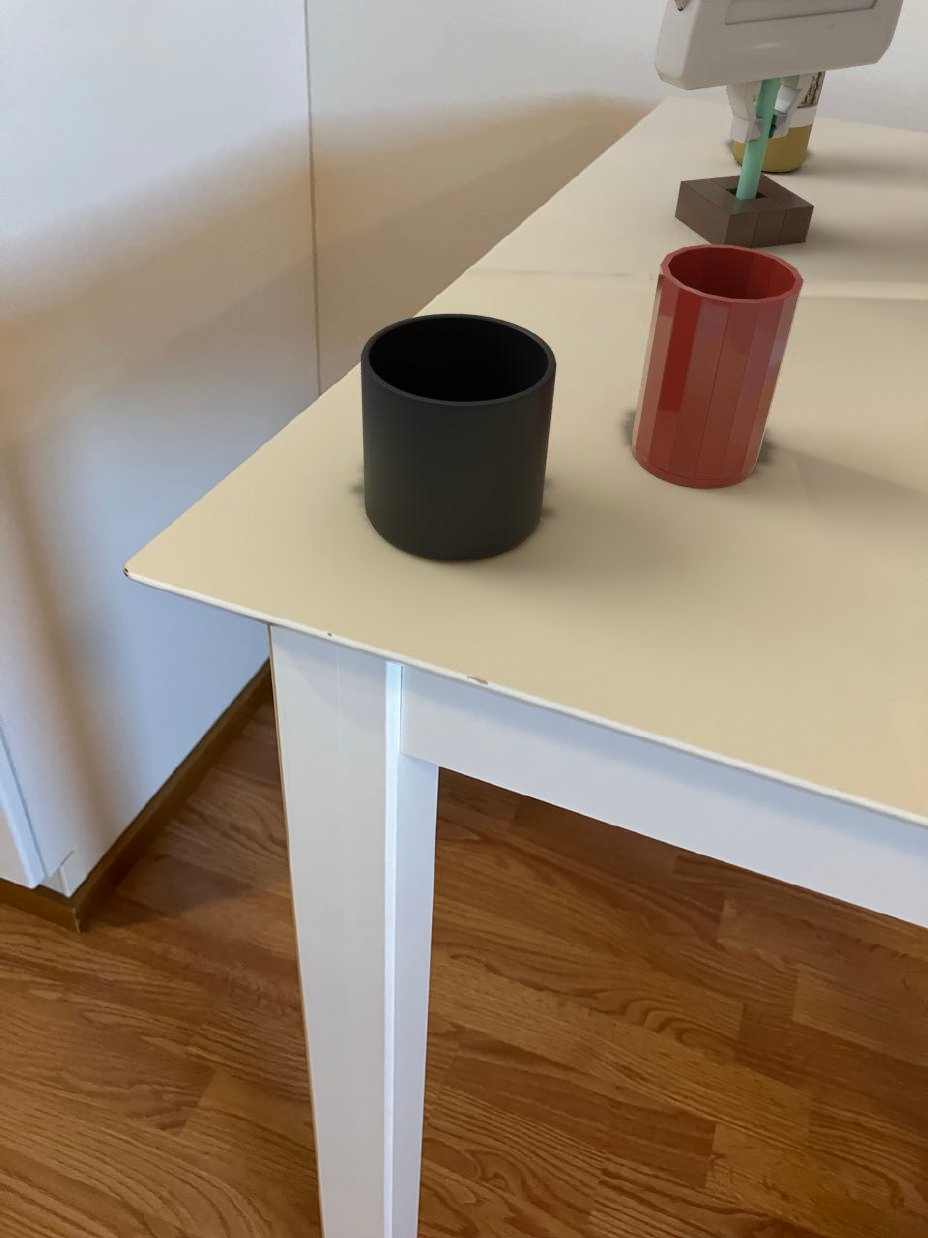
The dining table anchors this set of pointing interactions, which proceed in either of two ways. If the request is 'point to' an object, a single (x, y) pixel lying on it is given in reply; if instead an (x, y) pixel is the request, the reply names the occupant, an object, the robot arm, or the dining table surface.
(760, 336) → the cup
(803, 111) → the paper tube
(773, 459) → the dining table surface
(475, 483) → the mug
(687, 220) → the holder
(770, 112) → the straw
